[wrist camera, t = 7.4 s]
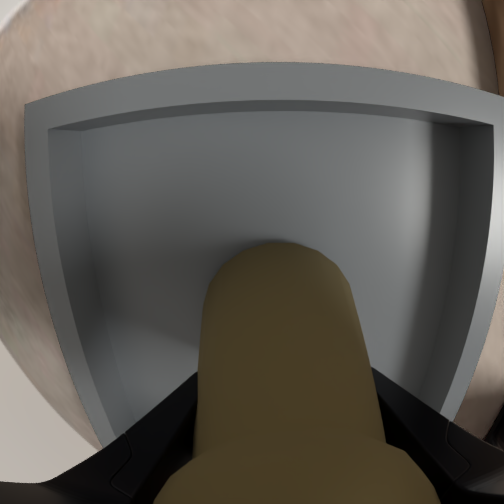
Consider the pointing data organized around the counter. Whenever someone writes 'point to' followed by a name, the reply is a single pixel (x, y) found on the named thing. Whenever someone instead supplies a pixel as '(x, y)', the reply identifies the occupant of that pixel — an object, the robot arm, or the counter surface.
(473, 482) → the robot arm
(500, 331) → the counter surface
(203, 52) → the counter surface
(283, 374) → the olive shaker
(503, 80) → the frame
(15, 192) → the counter surface
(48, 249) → the gray square tray
